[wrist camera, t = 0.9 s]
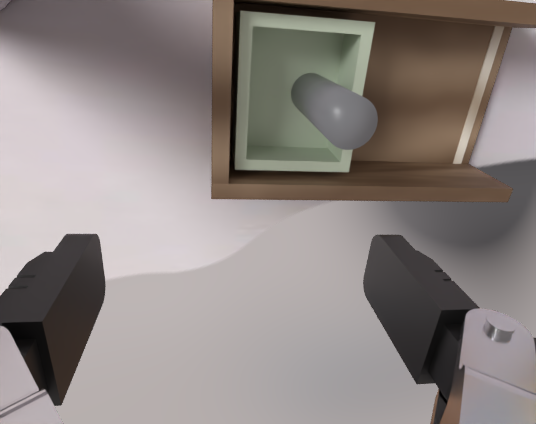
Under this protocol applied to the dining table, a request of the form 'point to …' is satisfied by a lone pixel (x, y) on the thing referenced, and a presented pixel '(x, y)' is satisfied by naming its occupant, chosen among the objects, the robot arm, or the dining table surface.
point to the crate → (300, 92)
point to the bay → (387, 100)
